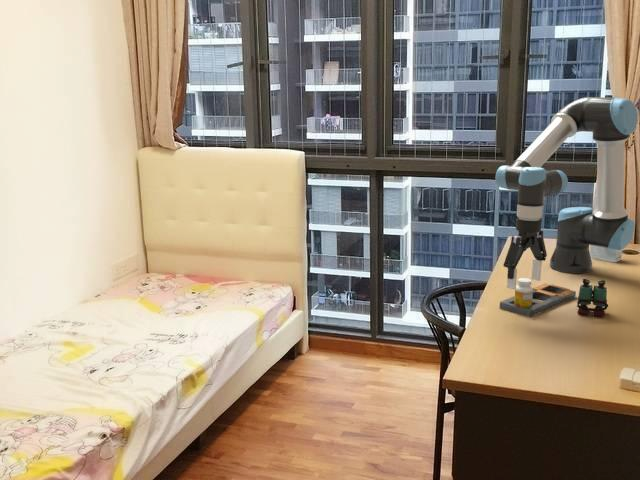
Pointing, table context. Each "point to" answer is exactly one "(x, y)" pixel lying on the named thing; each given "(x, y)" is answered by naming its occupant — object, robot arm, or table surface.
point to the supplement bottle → (523, 293)
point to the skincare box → (605, 254)
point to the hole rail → (540, 306)
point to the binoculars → (592, 299)
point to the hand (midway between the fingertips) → (523, 284)
